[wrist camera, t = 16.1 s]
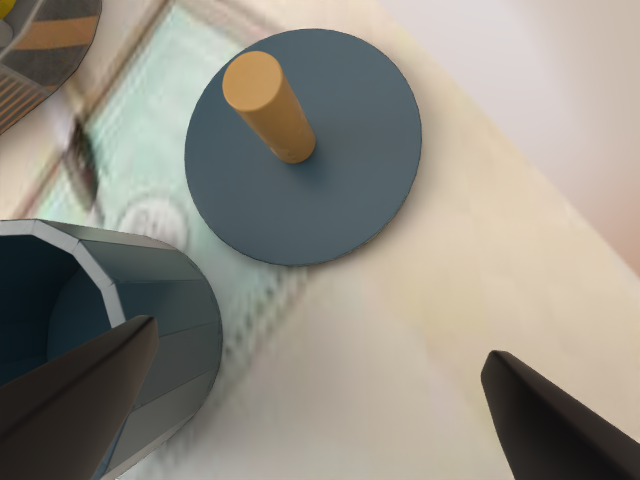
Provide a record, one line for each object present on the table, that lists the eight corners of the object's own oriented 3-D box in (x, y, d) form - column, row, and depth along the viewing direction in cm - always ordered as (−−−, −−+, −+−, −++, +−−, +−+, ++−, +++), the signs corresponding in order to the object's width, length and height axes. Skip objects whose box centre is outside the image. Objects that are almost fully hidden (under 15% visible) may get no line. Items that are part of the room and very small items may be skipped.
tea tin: (252, 403, 18) (172, 480, 11) (74, 472, 20) (-88, 575, 13) (183, 205, 20) (81, 170, 14) (27, 282, 22) (-134, 286, 15)
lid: (415, 273, 17) (435, 272, 10) (184, 259, 20) (77, 251, 13) (423, 32, 19) (446, -112, 12) (205, 49, 21) (117, -60, 14)
